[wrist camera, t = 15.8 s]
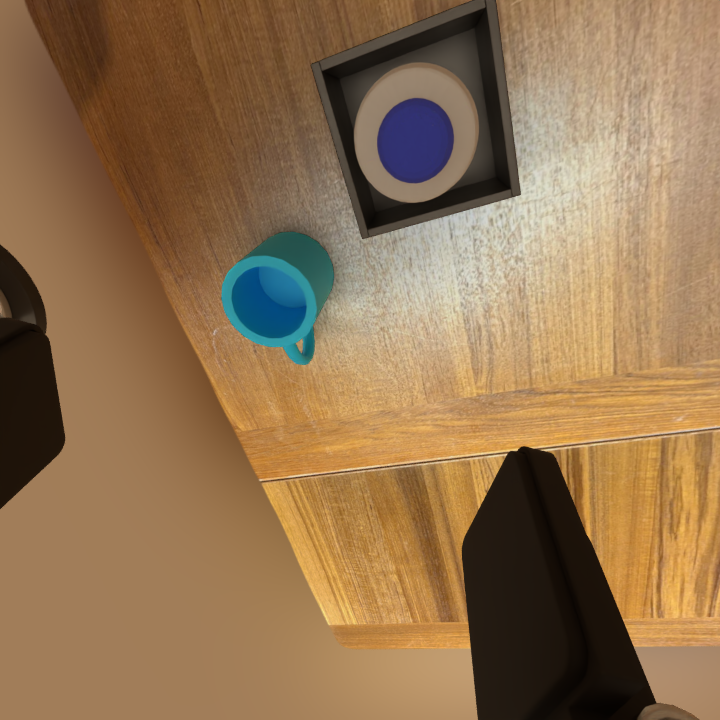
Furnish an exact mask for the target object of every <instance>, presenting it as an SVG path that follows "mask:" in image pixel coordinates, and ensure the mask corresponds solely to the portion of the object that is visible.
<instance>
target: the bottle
mask: <svg viewBox="0 0 720 720" xmlns="http://www.w3.org/2000/svg"><path fill="white" fill-rule="evenodd" d="M478 135H479V122H478V114H477V110H476V106H475V103H474V100H473V98H472V96H471V94H470V92H469V91H468V89H467V88H466V86H465V85H464V83H463V82H462V81H461V80H460V79H459V78H458V77H457V76H456V75H454V74H453V73H452V72H450V71H449V70H447V69H445V68H443V67H441V66H438V65H435V64H431V63H422V62H419V63H409V64H405V65H402V66H399V67H397V68H394V69H392V70H391V71H389V72H387V73H386V74H384V75H383V76H382V77H381V78H380V79H379V80H378V81H376V82H375V83H374V85H373V86H372V87H371V88H370V90H369V91H368V92H367V94H366V95H365V97H364V99H363V101H362V103H361V105H360V108H359V110H358V113H357V117H356V121H355V128H354V144H355V152H356V156H357V160H358V163H359V165H360V168H361V170H362V172H363V173H364V175H365V177H366V178H367V180H368V181H369V182H370V183H371V184H372V185H373V186H374V188H375V189H377V190H378V191H379V192H380V193H382V194H384V195H385V196H387V197H389V198H391V199H394V200H397V201H400V202H408V203H416V202H424V201H427V200H431V199H433V198H436V197H438V196H440V195H441V194H443V193H445V192H446V191H447V190H449V189H450V188H451V187H452V186H454V185H455V184H456V183H457V182H458V181H459V180H460V178H461V177H462V176H463V174H464V173H465V172H466V170H467V169H468V167H469V165H470V163H471V161H472V159H473V156H474V154H475V151H476V146H477V142H478Z"/></svg>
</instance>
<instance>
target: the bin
mask: <svg viewBox="0 0 720 720" xmlns="http://www.w3.org/2000/svg"><path fill="white" fill-rule="evenodd" d="M419 62H422V63H431V64H435V65H438V66H441V67H443V68H445V69H447V70H449V71H450V72H452V73H453V74H454V75H456V76H457V77H458V78H459V79H460V80H461V81H462V82H463V83H464V85H465V86H466V88H467V89H468V91H469V92H470V94H471V96H472V98H473V100H474V103H475V106H476V110H477V114H478V122H479V135H478V142H477V146H476V151H475V154H474V156H473V159H472V161H471V163H470V165H469V167H468V169H467V170H466V172H465V173H464V174H463V176H462V177H461V178H460V180H459V181H458V182H457V183H456V184H455V185H454V186H452V187H451V188H450V189H449V190H447V191H446V192H445V193H443V194H441V195H440V196H438V197H436V198H433V199H431V200H427V201H424V202H416V203H408V202H400V201H397V200H394V199H391V198H389V197H387V196H385V195H384V194H382V193H380V192H379V191H378V190H377V189H375V188H374V186H373V185H372V184H371V183H370V182H369V181H368V180H367V178H366V177H365V175H364V173H363V172H362V170H361V168H360V165H359V163H358V160H357V156H356V152H355V144H354V128H355V121H356V117H357V113H358V110H359V108H360V105H361V103H362V101H363V99H364V97H365V95H366V94H367V92H368V91H369V90H370V88H371V87H372V86H373V85H374V83H375V82H376V81H378V80H379V79H380V78H381V77H382V76H383V75H384V74H386V73H387V72H389V71H391V70H392V69H394V68H397V67H399V66H402V65H405V64H409V63H419ZM311 68H312V71H313V74H314V78H315V81H316V85H317V88H318V91H319V95H320V98H321V102H322V105H323V108H324V112H325V115H326V118H327V122H328V125H329V129H330V132H331V135H332V139H333V142H334V145H335V149H336V152H337V156H338V159H339V162H340V166H341V169H342V172H343V176H344V179H345V183H346V186H347V189H348V193H349V196H350V199H351V203H352V206H353V210H354V213H355V216H356V220H357V223H358V226H359V230H360V233H361V237H362V239H365V238H369V237H372V236H376V235H380V234H383V233H387V232H390V231H394V230H397V229H401V228H405V227H408V226H412V225H415V224H419V223H423V222H426V221H430V220H433V219H437V218H440V217H444V216H448V215H451V214H455V213H458V212H462V211H465V210H469V209H473V208H476V207H480V206H483V205H487V204H490V203H494V202H498V201H501V200H505V199H508V198H512V197H515V196H519V195H521V191H520V183H519V176H518V168H517V160H516V152H515V144H514V137H513V129H512V121H511V113H510V105H509V97H508V90H507V82H506V74H505V66H504V58H503V51H502V43H501V35H500V27H499V19H498V12H497V4H496V0H472V1H469V2H467V3H464V4H461V5H459V6H456V7H454V8H451V9H449V10H446V11H444V12H441V13H439V14H436V15H434V16H431V17H429V18H426V19H424V20H421V21H418V22H416V23H413V24H411V25H408V26H406V27H403V28H401V29H398V30H396V31H393V32H391V33H388V34H386V35H383V36H381V37H378V38H375V39H373V40H370V41H368V42H365V43H363V44H360V45H358V46H355V47H353V48H350V49H348V50H345V51H343V52H340V53H337V54H335V55H332V56H330V57H327V58H325V59H322V60H320V61H317V62H315V63H312V64H311Z"/></svg>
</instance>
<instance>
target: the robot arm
mask: <svg viewBox="0 0 720 720" xmlns="http://www.w3.org/2000/svg"><path fill="white" fill-rule="evenodd" d="M64 443H65V433H64V427H63V421H62V414H61V408H60V403H59V396H58V390H57V384H56V378H55V371H54V365H53V359H52V353H51V346H50V341H49V339H48V337H47V336H46V335H44V333H43V331H42V329H41V328H40V327H39V326H37V325H35V324H31V323H27V322H23V321H19V320H15V319H12V313H11V310H10V307H9V304H8V301H7V299H6V297H5V295H4V294H3V292H2V291H1V289H0V509H1V508H2V507H3V506H4V505H5V504H6V503H7V502H8V501H9V500H10V499H12V498H13V497H14V496H15V495H16V494H17V493H18V492H19V491H20V490H21V489H22V488H23V487H24V486H25V485H27V484H28V483H29V482H30V481H31V480H32V479H33V478H34V477H35V476H36V475H37V474H38V473H39V472H40V471H41V470H42V469H44V467H46V466H47V465H48V464H49V463H50V462H51V461H52V460H53V459H54V458H55V457H56V456H57V455H58V454H59V453H60V452H61V450H62V448H63V446H64ZM462 562H463V572H464V582H465V593H466V603H467V613H468V623H469V633H470V643H471V654H472V664H473V674H474V684H475V694H476V705H477V715H478V720H699V719H698V718H697V717H695V716H694V715H693V714H691V713H689V712H687V711H685V710H683V709H680V708H678V707H676V706H674V705H668V704H662V703H656V701H655V698H654V696H653V693H652V691H651V689H650V686H649V683H648V681H647V679H646V676H645V674H644V671H643V669H642V666H641V664H640V661H639V659H638V657H637V654H636V651H635V649H634V646H633V644H632V642H631V639H630V637H629V634H628V632H627V629H626V627H625V624H624V622H623V619H622V617H621V614H620V612H619V609H618V607H617V605H616V602H615V600H614V597H613V595H612V592H611V590H610V587H609V585H608V582H607V580H606V577H605V575H604V573H603V570H602V568H601V565H600V563H599V560H598V558H597V555H596V553H595V550H594V548H593V545H592V543H591V541H590V539H589V538H588V536H587V535H586V532H585V530H584V527H583V525H582V522H581V520H580V517H579V515H578V512H577V510H576V507H575V505H574V502H573V500H572V497H571V495H570V492H569V490H568V487H567V485H566V482H565V480H564V477H563V475H562V472H561V470H560V467H559V465H558V462H557V460H556V458H555V456H554V455H553V454H552V453H549V452H545V451H541V450H537V449H533V448H529V447H525V446H523V447H521V448H519V449H518V451H517V452H515V451H510V452H509V453H508V454H507V456H506V458H505V460H504V462H503V464H502V466H501V468H500V469H499V471H498V473H497V475H496V477H495V479H494V481H493V483H492V485H491V487H490V489H489V491H488V493H487V495H486V497H485V499H484V500H483V502H482V504H481V506H480V508H479V510H478V512H477V514H476V516H475V518H474V520H473V522H472V524H471V526H470V528H469V530H468V531H467V533H466V535H465V538H464V541H463V545H462Z"/></svg>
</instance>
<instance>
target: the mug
mask: <svg viewBox="0 0 720 720" xmlns="http://www.w3.org/2000/svg"><path fill="white" fill-rule="evenodd" d="M333 281H334V271H333V264H332V262H331V260H330V258H329V256H328V253H327V252H326V251H325V250H324V249H323V247H322V246H321V245H320V244H319V243H318V242H317V241H315V240H314V239H312V238H310V237H309V236H307V235H304V234H300V233H297V232H281V233H278V234H276V235H274V236H271V237H269V238H268V239H266V240H265V241H264V242H263V243H261V244H260V245H259V246H258V247H256V248H255V249H254V250H253V251H251V252H250V253H249V254H248V255H246V256H245V257H244V258H243V259H241V260H240V261H239V262H238V263H237V264H236V265H235V266H234V267H233V268H232V269H230V270H229V271H228V273H227V275H226V277H225V280H224V282H223V284H222V297H221V299H222V303H223V307H224V311H225V314H226V315H227V317H228V319H229V320H230V322H231V324H232V325H233V326H234V327H235V328H236V329H237V330H238V331H239V332H240V333H241V334H242V335H243V336H244V337H246V338H248V339H250V340H251V341H253V342H255V343H257V344H261V345H264V346H268V347H283V348H284V350H285V352H286V353H287V355H288V356H289V358H290V359H291V360H292V361H294V362H295V363H296V364H300V365H306V364H308V363H309V362H310V361H311V360H312V358H313V355H314V348H315V340H314V330H313V324H314V323H315V321H316V319H317V317H318V315H319V313H320V311H321V309H322V307H323V305H324V303H325V301H326V300H327V298H328V296H329V294H330V292H331V290H332V286H333ZM302 338H303V351H302V353H301V352H300V351H299V349H298V347H297V345H296V343H297V342H298V341H300V340H301V339H302Z"/></svg>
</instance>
